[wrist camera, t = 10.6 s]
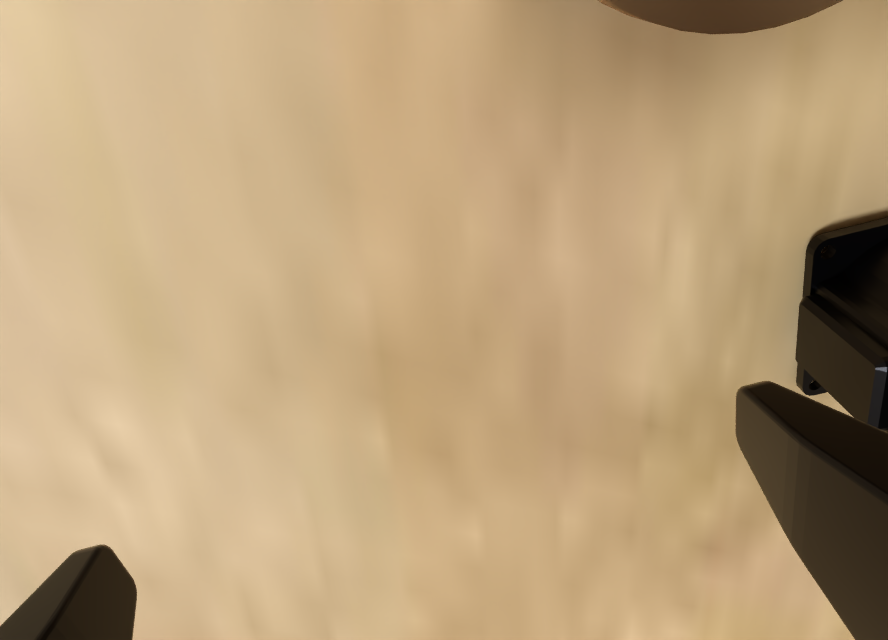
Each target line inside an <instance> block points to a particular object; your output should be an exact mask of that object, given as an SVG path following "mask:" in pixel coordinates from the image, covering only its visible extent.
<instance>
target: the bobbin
mask: <svg viewBox="0 0 888 640" xmlns="http://www.w3.org/2000/svg"><path fill="white" fill-rule="evenodd" d="M598 1H599V2H601V3H603V4H605V5H607V6H609V7H611V8H614V9H616V10H618V11H620V12H622V13H625V14H627V15H629V16H632V17H636V18H639V19H642V20H645V21H648V22H652V23H655V24H659V25H662V26H666V27H670V28H673V29H677V30H680V31H688V32H697V33H706V34H730V33H746V32H752V31H757V30H763V29H768V28H774V27H778V26H781V25H784V24H787V23H790V22H793V21H796V20H799V19H802V18H806V17H808V16H810V15H813V14H815V13H817V12H819V11H821V10H823V9H826V8H828V7H830V6H832V5H834V4H836V3H839V2H841V1H842V0H598Z"/></svg>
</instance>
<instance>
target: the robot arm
mask: <svg viewBox="0 0 888 640" xmlns="http://www.w3.org/2000/svg"><path fill="white" fill-rule="evenodd" d="M828 245H829V246H828ZM826 246H828V248H827V250H826V251H825V252H824V253H822V254H821V251H822V250H823V249H824V248H825V247H826ZM796 361H797V362H798V365H797V378H796V383H797V386H798V387H799V388H800V389H801V390H802V391H803V392H804V393H805V394H806V395H809V396H811V395H817V394H822V393H826V392H828V393H829V394H830V395H831V396H832V397H833V398H834V399H835V400H837V401H838V402H839V403H840V404H841V405H842V406H843V407H844V408H845V409H846V410H847V411H848V412H849V413H850V414H851V415H852V416H853V417H854V418H853V417H851V416H849V415H846V414H844V413H842V412H839V411H837V410H835V409H833V408H830V407H828V406H826V405H823V404H821V403H819V402H817V401H814V400H812V399H810V398H807V397H805V396H803V395H801V394H798V393H796V392H794V391H792V390H789V389H787V388H785V387H782V386H780V385H778V384H776V383H773V382H770V381H762V382H758V383H754V384H750V385H746V386H743V387H741V388H739V389H738V391H737V395H736V437H737V441H738V444H739V447H740V449H741V451H742V453H743V455H744V457H745V458H746V460H747V462H748V464H749V466H750V468H751V470H752V472H753V474H754V476H755V477H756V479H757V481H758V483H759V485H760V487H761V489H762V491H763V493H764V495H765V496H766V498H767V500H768V502H769V504H770V506H771V508H772V510H773V512H774V514H775V515H776V517H777V519H778V521H779V523H780V525H781V527H782V529H783V531H784V532H785V534H786V536H787V538H788V539H789V541H790V543H791V545H792V546H793V548H794V549H795V551H796V552H797V554H798V556H799V557H800V559H801V560H802V562H803V563H804V565H805V566H806V568H807V569H808V571H809V572H810V574H811V575H812V577H813V578H814V579H815V581H816V582H817V584H818V585H819V587H820V588H821V590H822V591H823V593H824V594H825V596H826V597H827V599H828V600H829V602H830V603H831V605H832V606H833V608H834V609H835V611H836V612H837V613H838V615H839V616H840V618H841V619H842V621H843V622H844V624H845V625H846V627H847V628H848V630H849V631H850V633H851V634H852V636H853V637H854V639H855V640H888V218H884V219H879V220H875V221H871V222H867V223H863V224H859V225H855V226H851V227H847V228H843V229H839V230H835V231H831V232H827V233H823V234H820V235H818V236H816V237H815V238H813V239H812V240H811V241H810V243H809V244H808V246H807V249H806V259H805V272H804V285H803V298H802V301H801V303H800V305H799V318H798V331H797V345H796ZM813 380H814V381H813ZM812 381H813V382H812ZM811 382H812V383H811ZM136 601H137V590H136V585H135V582H134V580H133V578H132V577H131V575H130V574H129V573H128V571H127V570H126V568H125V567H124V566H123V564H122V563H121V561H120V560H119V559H118V557H117V556H116V554H115V553H114V552H113V550H112V549H111V548H110V547H108V546H106V545H97V546H93V547H89V548H85V549H81V550H78V551H75V552H74V553H72V554H71V555H70V556H69V557H68V558H67V559H66V560H65V561H64V562H63V563H62V564H61V565H60V566H59V567H58V568H57V569H56V570H55V571H54V572H53V573H52V574H51V575H50V576H49V577H48V578H47V579H46V580H45V581H44V582H43V583H42V585H41V586H40V587H39V588H38V589H37V590H36V591H35V592H34V593H33V594H32V595H31V596H30V597H29V598H28V599H27V600H26V601H25V602H24V603H23V604H22V605H21V606H20V607H19V608H18V609H17V610H16V611H15V612H14V613H13V614H12V615H11V616H10V617H9V618H8V619H7V620H6V621H5V622H4V623H3V624H2V625H1V626H0V640H132V637H133V628H134V619H135V610H136Z"/></svg>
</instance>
